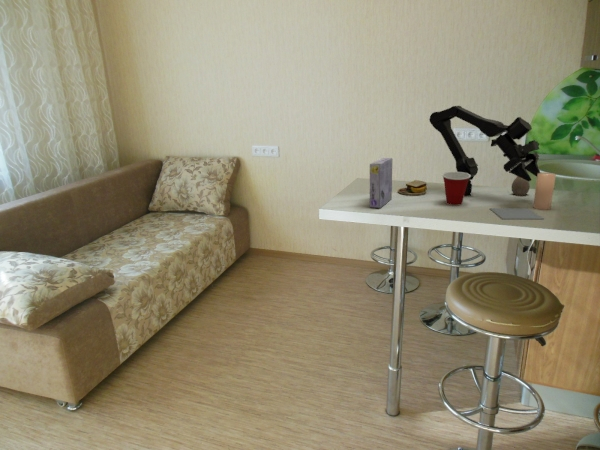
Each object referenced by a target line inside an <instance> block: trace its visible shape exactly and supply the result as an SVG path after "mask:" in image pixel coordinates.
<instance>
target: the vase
mask: <svg viewBox="0 0 600 450" xmlns="http://www.w3.org/2000/svg"><path fill="white" fill-rule="evenodd" d="M530 188H531V186H530V181H527V180H525V179H523V178H521V177H519V176H517V177H516V178H514V180H513V181H512V183H511V192H512V194H513V195H514V194H515V196H517V195H518V196H520V197H523V196H526V195H527V194H528V193H529V191H530Z"/></svg>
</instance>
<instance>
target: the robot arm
mask: <svg viewBox="0 0 600 450" xmlns="http://www.w3.org/2000/svg"><path fill="white" fill-rule="evenodd" d="M455 118H458V119H460V120H462V121H463V122H465V123H468V124H470V125H472V126H474V127H476V128H478V129H479V131H480V132H481V133H482V134H483V135H485V136H486V137H489V138H493V137H496V138H495V139H491V143H490V147H495V146H497V147H498V148H499V149H500V150H501V152H502V153H503V154H502V156H503V157H504V158H507V159H508V161H507V162H506V163H504V164H503V170H504V171H505V172H506V173H507V172H508V173H509V174H512V175H514V176H517V177H518V176H519V177H521V178H523V179H525V180H527V181H529V182H531V181H532V178H531V175H530V174H529V173H531V174H532V175H534V176H536V177H537V174H538V173H541V171H540V169H539V165H538V161H539V157H540V155H539V154H538V152H534V151H538V150H540V147H539V146H540V143H539V142H538V140H535V139H533V140H530V141H529V142H528V143H527V144H524V145H522V144H518V143H517V142H516V141H515V140H521V139H522V138H523V137H524V136H525V135H527V134H529V132H530V131H532V129H533V128H532V125H531V123H530V122H528V121H526V120H524V119H523V118H522V117H521V116H518V117H516V118H515V119H514V120H513V122H511V123H510V124H509V125H506V124H504V123H503V122H502V121H499V120H494V119H491V118H485V117H483V116H481V115H479V114H476V113H474V112H472V111H471V110H468V109H466V108H464V107H462V106H461V105H453V106H451V107H449V108H446V109H443V110H441V111H440V110H439V111H433V112H431V114H430V116H429V119H428V120H429V123H430V124H431V126H432V127H433V128H434V129H435V130H436V131H437V132H439V133H440V135H441V136H442V137H441V138H443V140H444V142H445V144H446V146H447V147H448V149H449V151H450V153H451V155H452V157H453V159H454V160H455V161H454V162H455V170H456V172H464V173H468V174H470V175H471V177H470V178H469V181H468V183H467V187H466V191H465V194H464V197H466V196H467V197H468V196H469V197H471V196H472V195H471V194H472V189H473V183H472V180H474V177H475V176H477V174H478V171H479V168H478V166H479V165H478V163H477V162H476V161H475V158H474V157H469V156H467V154H466V153H465V151H464V149H463V147H462V145H461V143H460V142H459V140H458V138H457V136H456V134H455V132H454V131H453V128H452V121H451V120H452V119H455Z"/></svg>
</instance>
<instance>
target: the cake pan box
mask: <svg viewBox="0 0 600 450" xmlns="http://www.w3.org/2000/svg"><path fill="white" fill-rule="evenodd" d="M392 198H393V158H392V157H385V158H384V157H383V158H380V159H378V160H376V161H374V162H371V163H369V208H373V209H381V208H382V207H384V206H386V204H387V205H388V202H390V201H391V200H392Z"/></svg>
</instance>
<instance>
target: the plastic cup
mask: <svg viewBox="0 0 600 450" xmlns="http://www.w3.org/2000/svg"><path fill="white" fill-rule="evenodd" d="M441 176H442V178H443V182H444V184H443V185H444V194H445V200H446V201H445V202H446V204H448V205H452V206H460V205H462V203H463V201H464V197H465V196H464V194H465V191H466V187H467V183H468V181H469V178H470V177H471V175H470V174H468V173H464V172H457V171H447V172H444V173H442V175H441Z"/></svg>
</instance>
